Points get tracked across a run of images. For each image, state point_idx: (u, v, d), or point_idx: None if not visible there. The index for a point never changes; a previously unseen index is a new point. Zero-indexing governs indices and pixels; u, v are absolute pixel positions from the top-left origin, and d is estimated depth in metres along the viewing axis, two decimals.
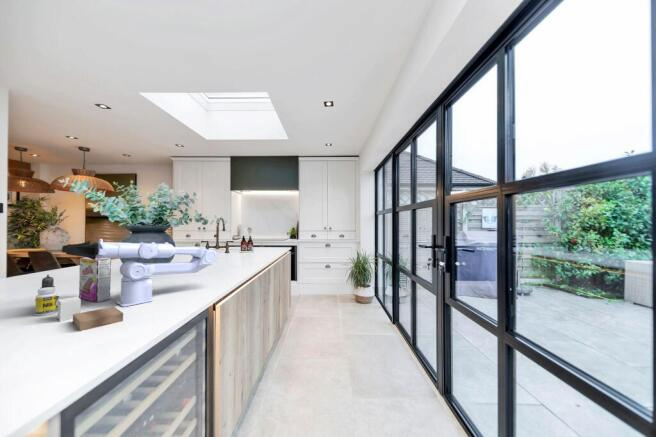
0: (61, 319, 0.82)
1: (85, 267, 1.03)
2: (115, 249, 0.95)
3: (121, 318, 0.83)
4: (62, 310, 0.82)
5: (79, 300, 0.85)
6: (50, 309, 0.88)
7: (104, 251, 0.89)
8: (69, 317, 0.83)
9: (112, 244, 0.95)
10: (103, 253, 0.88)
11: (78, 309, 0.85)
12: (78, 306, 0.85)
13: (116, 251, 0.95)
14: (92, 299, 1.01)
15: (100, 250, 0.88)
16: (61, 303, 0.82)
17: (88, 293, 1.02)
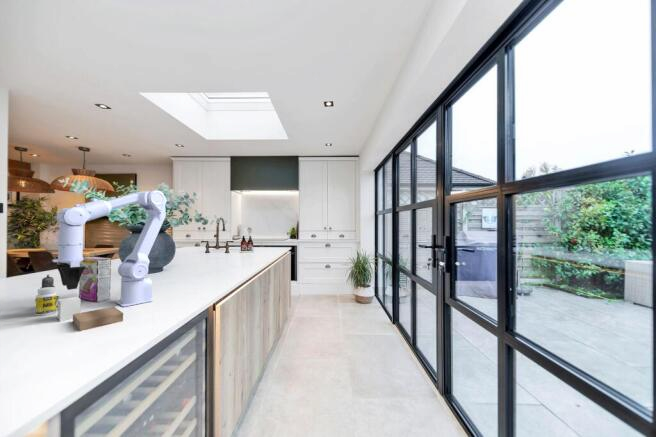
0: (61, 319, 0.82)
1: None
2: (70, 248, 0.83)
3: (121, 318, 0.83)
4: (62, 311, 0.82)
5: (79, 300, 0.85)
6: (50, 309, 0.88)
7: (74, 262, 0.81)
8: (69, 317, 0.83)
9: (62, 251, 0.82)
10: (77, 263, 0.81)
11: (78, 309, 0.85)
12: (78, 306, 0.85)
13: (72, 247, 0.83)
14: (92, 299, 1.01)
15: (73, 266, 0.80)
16: (61, 303, 0.82)
17: (88, 293, 1.02)
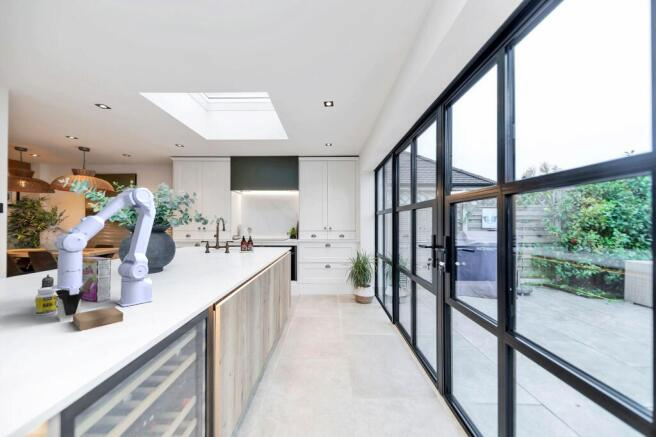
0: (61, 319, 0.82)
1: (85, 267, 1.03)
2: (69, 274, 0.83)
3: (121, 318, 0.83)
4: (62, 310, 0.82)
5: None
6: (50, 309, 0.88)
7: (73, 289, 0.81)
8: (69, 317, 0.83)
9: (61, 277, 0.82)
10: (76, 290, 0.81)
11: (78, 309, 0.85)
12: (78, 306, 0.85)
13: (72, 273, 0.83)
14: (92, 299, 1.01)
15: (72, 293, 0.80)
16: (61, 303, 0.82)
17: (88, 293, 1.02)
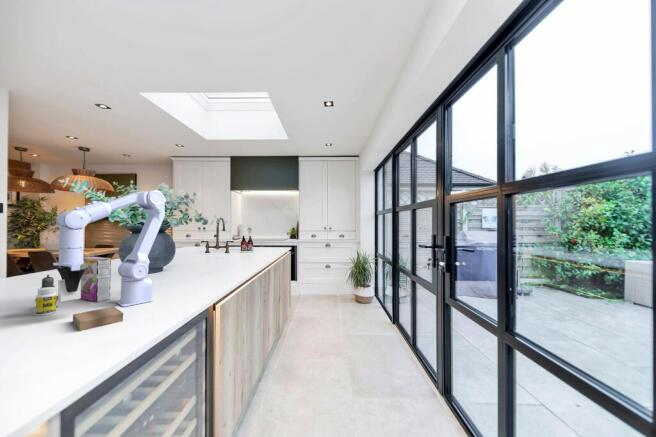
0: (61, 299, 0.82)
1: (85, 267, 1.03)
2: (71, 251, 0.83)
3: (121, 318, 0.83)
4: (62, 290, 0.82)
5: None
6: (50, 309, 0.88)
7: (75, 266, 0.81)
8: (69, 297, 0.83)
9: (62, 254, 0.82)
10: (78, 266, 0.81)
11: (78, 289, 0.85)
12: (78, 286, 0.85)
13: (73, 250, 0.83)
14: (92, 299, 1.01)
15: (73, 269, 0.80)
16: (61, 283, 0.82)
17: (88, 293, 1.02)
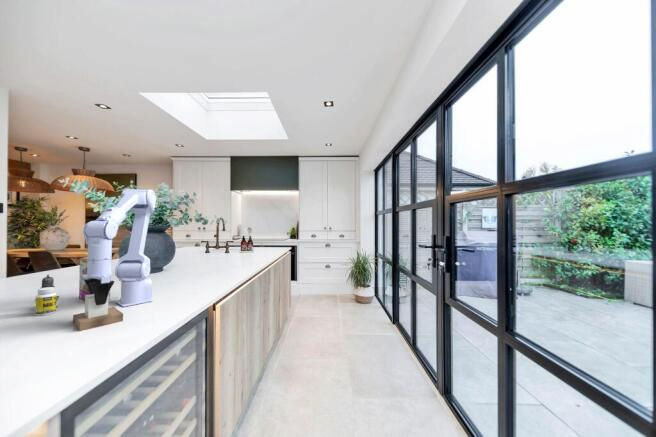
0: (89, 315, 0.79)
1: (85, 267, 1.03)
2: (100, 263, 0.80)
3: (121, 319, 0.83)
4: (90, 307, 0.79)
5: None
6: (50, 309, 0.88)
7: (105, 278, 0.78)
8: (97, 313, 0.80)
9: (91, 266, 0.80)
10: (108, 278, 0.78)
11: (106, 305, 0.82)
12: (106, 302, 0.82)
13: (102, 262, 0.81)
14: None
15: (103, 282, 0.78)
16: (89, 299, 0.79)
17: (88, 293, 1.02)
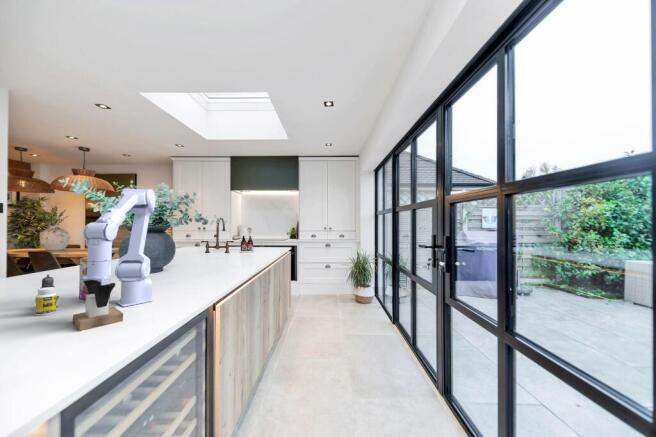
0: (90, 315, 0.79)
1: (85, 267, 1.03)
2: (99, 264, 0.80)
3: (121, 318, 0.83)
4: (91, 306, 0.79)
5: None
6: (50, 309, 0.88)
7: (105, 280, 0.78)
8: (98, 313, 0.80)
9: (91, 267, 0.80)
10: (108, 280, 0.78)
11: None
12: None
13: (102, 263, 0.81)
14: None
15: (103, 284, 0.78)
16: (90, 298, 0.79)
17: (88, 293, 1.02)
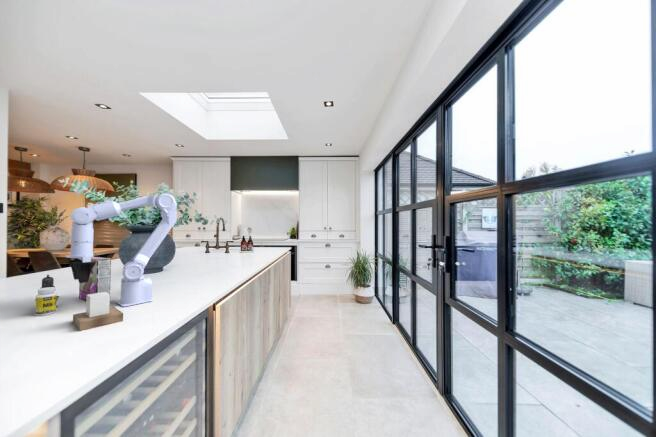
0: (91, 314, 0.79)
1: None
2: (82, 245, 0.90)
3: (121, 318, 0.83)
4: (91, 306, 0.79)
5: (108, 295, 0.83)
6: (50, 309, 0.88)
7: (86, 258, 0.88)
8: (98, 312, 0.81)
9: (74, 247, 0.90)
10: (88, 258, 0.88)
11: (107, 304, 0.82)
12: (107, 301, 0.82)
13: (84, 244, 0.91)
14: None
15: (84, 261, 0.88)
16: (91, 298, 0.79)
17: (88, 293, 1.02)
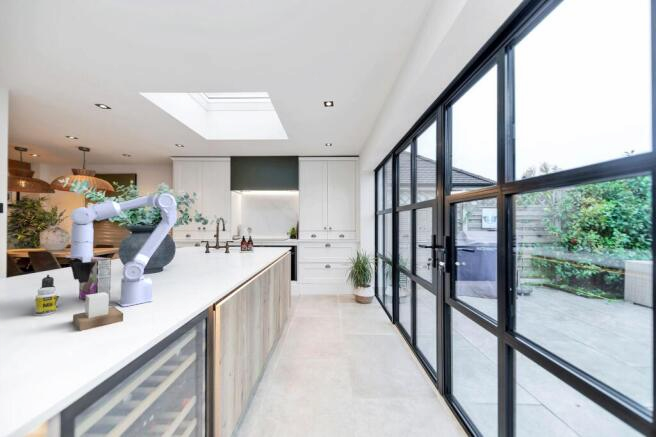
0: (90, 315, 0.79)
1: None
2: (82, 245, 0.90)
3: (121, 318, 0.83)
4: (90, 306, 0.79)
5: (107, 296, 0.82)
6: (50, 309, 0.88)
7: (86, 258, 0.88)
8: (97, 313, 0.80)
9: (74, 247, 0.90)
10: (88, 258, 0.88)
11: (106, 305, 0.82)
12: (106, 302, 0.82)
13: (84, 244, 0.91)
14: None
15: (84, 261, 0.88)
16: (89, 299, 0.79)
17: (88, 293, 1.02)
